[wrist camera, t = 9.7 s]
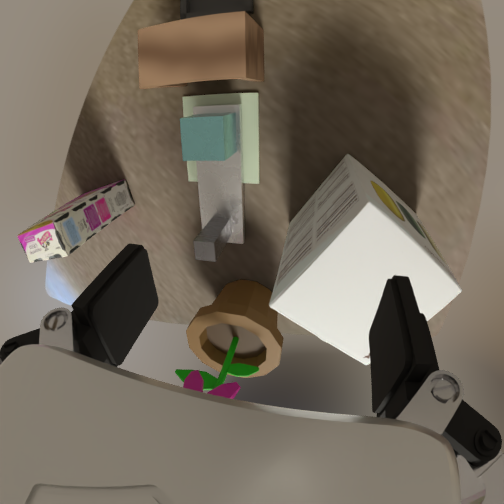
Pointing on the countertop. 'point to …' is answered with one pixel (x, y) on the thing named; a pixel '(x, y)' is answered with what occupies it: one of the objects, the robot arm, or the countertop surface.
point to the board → (248, 129)
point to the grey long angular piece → (216, 175)
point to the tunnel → (201, 50)
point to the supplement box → (355, 259)
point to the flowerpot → (234, 338)
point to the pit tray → (213, 7)
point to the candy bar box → (75, 222)
